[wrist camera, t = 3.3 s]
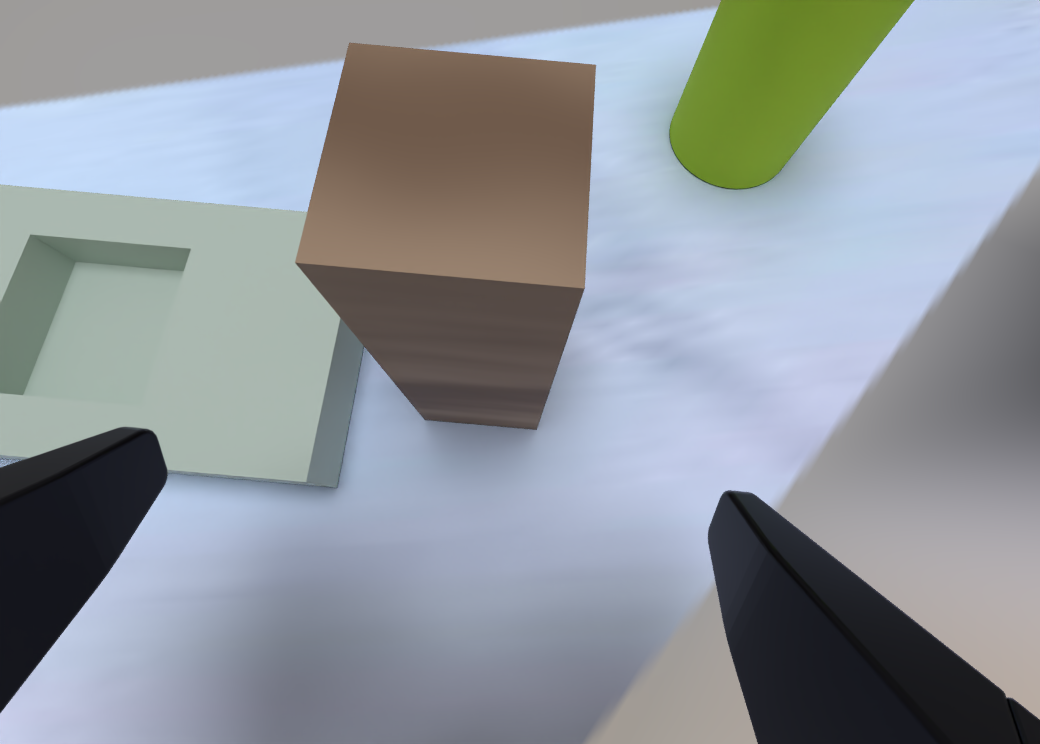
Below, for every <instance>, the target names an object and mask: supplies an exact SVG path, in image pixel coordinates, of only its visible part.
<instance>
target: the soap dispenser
mask: <svg viewBox="0 0 1040 744" xmlns="http://www.w3.org/2000/svg"><path fill="white" fill-rule="evenodd" d="M913 1H914V0H721V2H720V5H719V7H718V9H717V12H716V14H715V17H714V19H713V21H712V24H711V26H710V29H709V31H708V34H707V36H706V38H705V41H704V43H703V46H702V48H701V50H700V53H699V55H698V58H697V60H696V63H695V65H694V67H693V70H692V72H691V75H690V77H689V79H688V82H687V84H686V87H685V89H684V91H683V94H682V96H681V99H680V101H679V104H678V106H677V108H676V111H675V113H674V116H673V118H672V121H671V125H670V141H671V145H672V148H673V150H674V153H675V154H676V156H677V158H678V159H679V161H680V162H681V163H682V164H683V165H684V167H685V168H686V169H688V170H689V171H690V172H691V173H692V174H694V175H695V176H697V177H698V178H700V179H702V180H704V181H706V182H708V183H710V184H713V185H716V186H719V187H724V188H731V189H744V188H751V187H755V186H758V185H761V184H763V183H765V182H767V181H769V180H770V179H772V178H773V177H775V176H776V175H777V174H778V173H779V172H780V170H781V169H782V168H783V167H784V165H785V164H786V163H787V162H788V160H789V159H790V158H791V156H792V155H793V154H794V153H795V151H796V150H797V149H798V148H799V146H800V145H801V144H802V143H803V141H804V140H805V139H806V137H807V136H808V135H809V134H810V132H811V131H812V130H813V129H814V127H815V126H816V125H817V123H818V122H819V121H820V120H821V118H822V117H823V116H824V115H825V113H826V112H827V111H828V109H829V108H830V107H831V106H832V104H833V103H834V102H835V101H836V99H837V98H838V97H839V95H840V94H841V93H842V92H843V90H844V89H845V88H846V87H847V85H848V84H849V83H850V81H851V80H852V79H853V78H854V76H855V75H856V74H857V73H858V71H859V70H860V69H861V68H862V66H863V65H864V64H865V62H866V61H867V60H868V59H869V57H870V56H871V55H872V54H873V52H874V51H875V50H876V48H877V47H878V46H879V45H880V43H881V42H882V41H883V40H884V38H885V37H886V36H887V34H888V33H889V32H890V31H891V29H892V28H893V27H894V26H895V24H896V23H897V22H898V20H899V19H900V18H901V17H902V15H903V14H904V13H905V12H906V10H907V9H908V8H909V6H910V5H911V4H912V3H913Z"/></svg>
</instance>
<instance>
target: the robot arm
mask: <svg viewBox="0 0 1040 744" xmlns="http://www.w3.org/2000/svg"><path fill="white" fill-rule="evenodd" d="M167 475H168V470H167V466H166V463H165V460H164V457H163V453H162V450H161V447H160V444H159V441H158V438H157V435H156V434H155V433H154V432H153V431H152V430H149V429H146V428H137V427H119V428H116V429H113V430H110V431H107V432H104V433H101V434H98V435H95V436H92V437H89V438H86V439H83V440H80V441H77V442H75V443H72V444H69V445H66V446H63V447H60V448H57V449H54V450H51V451H48V452H45V453H42V454H39V455H36V456H33V457H30V458H27V459H24V460H21V461H18V462H16V463H13V464H10V465H7V466H4V467H1V468H0V713H1V712H2V710H3V709H4V708H5V707H6V705H7V704H8V703H9V701H10V700H11V699H12V698H13V696H14V695H15V694H16V692H17V691H18V690H19V688H20V687H21V686H22V685H23V683H24V682H25V681H26V679H27V678H28V677H29V676H30V674H31V673H32V672H33V670H34V669H35V668H36V666H37V665H38V664H39V663H40V661H41V660H42V659H43V657H44V656H45V655H46V654H47V652H48V651H49V650H50V648H51V647H52V646H53V644H54V643H55V642H56V641H57V639H58V638H59V637H60V635H61V634H62V633H63V632H64V630H65V629H66V628H67V626H68V625H69V624H70V622H71V621H72V620H73V619H74V617H75V616H76V615H77V613H78V612H79V611H80V610H81V608H82V607H83V606H84V604H85V603H86V602H87V601H88V599H89V598H90V597H91V595H92V594H93V593H94V591H95V590H96V589H97V588H98V586H99V585H100V583H101V582H102V581H103V579H104V578H105V577H106V575H107V574H108V573H109V571H110V570H111V568H112V567H113V565H114V564H115V562H116V561H117V559H118V558H119V556H120V555H121V553H122V551H123V550H124V548H125V547H126V545H127V544H128V542H129V540H130V539H131V537H132V536H133V534H134V533H135V531H136V529H137V528H138V526H139V525H140V523H141V522H142V520H143V518H144V517H145V515H146V514H147V512H148V511H149V509H150V507H151V506H152V504H153V503H154V501H155V500H156V498H157V496H158V495H159V493H160V492H161V490H162V489H163V487H164V485H165V483H166V480H167ZM708 544H709V549H710V554H711V560H712V565H713V570H714V576H715V581H716V586H717V591H718V597H719V602H720V607H721V613H722V618H723V623H724V628H725V633H726V637H727V641H728V644H729V648H730V652H731V655H732V659H733V662H734V665H735V669H736V672H737V676H738V679H739V682H740V686H741V689H742V692H743V696H744V699H745V702H746V706H747V709H748V712H749V715H750V719H751V722H752V725H753V729H754V732H755V736H756V739H757V742H758V744H1040V720H1039V719H1038V718H1037V717H1036V716H1034V715H1033V714H1032V713H1030V712H1029V711H1028V710H1027V709H1026V708H1024V707H1023V706H1022V705H1021V704H1019V703H1018V702H1017V701H1015V700H1014V699H1013V698H1006V696H1005V693H1004V692H1003V691H1002V690H1001V689H1000V688H999V687H997V686H996V685H995V684H994V683H992V682H991V681H990V680H988V679H987V678H986V677H985V676H984V675H982V674H981V673H980V672H979V671H977V670H976V669H975V668H973V667H972V666H971V665H970V664H968V663H967V662H966V661H965V660H963V659H962V658H961V657H960V656H958V655H957V654H956V653H954V652H953V651H952V650H951V649H949V648H948V647H946V645H944V644H943V643H942V642H941V641H939V640H938V639H937V638H935V637H934V636H933V635H932V634H930V633H929V632H928V631H927V630H925V629H924V628H923V627H922V626H920V625H919V624H918V623H916V622H915V621H914V620H913V619H911V618H910V617H909V616H908V615H906V614H905V613H904V612H903V611H901V610H900V609H899V608H898V607H896V606H895V605H894V604H892V603H891V602H890V601H889V600H887V599H886V598H885V597H884V596H882V595H881V594H880V593H878V592H877V591H876V590H875V589H873V588H872V587H871V586H870V585H868V584H867V583H866V582H864V581H863V580H862V579H861V578H860V577H858V576H857V575H856V574H855V573H853V572H852V571H851V570H849V569H848V568H847V567H846V566H844V565H843V564H842V563H841V562H839V561H838V560H837V559H835V558H834V557H833V556H831V555H830V554H829V553H828V552H827V551H825V550H824V549H823V548H822V547H820V546H819V545H817V543H815V542H814V541H813V540H811V539H810V538H809V537H808V536H806V535H805V534H804V533H803V532H801V531H800V530H799V529H798V528H796V527H795V526H793V524H791V523H790V522H789V521H787V520H786V519H785V518H783V517H782V516H781V515H780V514H779V513H777V512H776V511H775V510H774V509H772V508H771V507H770V506H768V505H767V504H766V503H765V502H763V501H762V500H761V499H760V498H758V497H757V496H756V495H754V494H752V493H749V492H741V491H732V490H728V491H725V492H724V493H723V494H722V496H721V498H720V500H719V503H718V505H717V508H716V511H715V513H714V516H713V519H712V521H711V524H710V527H709V531H708Z"/></svg>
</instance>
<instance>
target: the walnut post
mask: <svg viewBox="0 0 1040 744" xmlns="http://www.w3.org/2000/svg"><path fill="white" fill-rule="evenodd" d="M595 72H596V65H592V64H580V63H569V62H558V61H547V60H536V59H525V58H513V57H502V56H491V55H480V54H469V53H458V52H447V51H435V50H424V49H413V48H402V47H390V46H380V45H368V44H357V43H349V46H348V50H347V54H346V58H345V62H344V66H343V70H342V74H341V78H340V82H339V86H338V90H337V94H336V98H335V102H334V106H333V110H332V115H331V119H330V123H329V127H328V131H327V135H326V139H325V143H324V147H323V151H322V155H321V159H320V163H319V167H318V171H317V175H316V179H315V183H314V187H313V192H312V196H311V200H310V204H309V208H308V212H307V216H306V220H305V224H304V228H303V232H302V236H301V240H300V244H299V248H298V252H297V256H296V260H295V263H296V265H297V266H298V267H299V268H300V269H301V271H302V272H303V273H304V274H305V275H306V277H307V278H308V279H309V280H310V281H311V283H312V284H313V285H314V286H315V288H316V289H317V290H318V291H319V292H320V294H321V295H322V296H323V297H324V298H325V300H326V301H327V302H328V303H329V304H330V306H331V307H332V308H333V309H334V310H335V312H336V313H337V314H338V315H339V317H340V318H341V319H342V320H343V321H344V323H345V324H346V325H347V326H348V327H349V329H350V330H351V331H352V332H353V333H354V335H355V336H356V337H357V338H358V339H359V341H360V342H361V343H362V344H363V346H364V347H365V348H366V349H367V350H368V352H369V353H370V354H371V355H372V356H373V358H374V359H375V360H376V361H377V362H378V364H379V365H380V366H381V367H382V369H383V370H384V371H385V372H386V373H387V375H388V376H389V377H390V378H391V379H392V381H393V382H394V383H395V384H396V385H397V387H398V388H399V389H400V390H401V391H402V393H403V394H404V395H405V396H406V398H407V399H408V400H409V401H410V402H411V404H412V405H413V406H414V407H415V408H416V410H417V411H418V412H419V413H420V414H421V416H422V417H423V418H424V419H425V420H433V421H444V422H455V423H467V424H478V425H489V426H501V427H512V428H523V429H534V430H537V427H538V424H539V421H540V418H541V415H542V412H543V409H544V406H545V403H546V400H547V397H548V394H549V392H550V389H551V386H552V383H553V380H554V377H555V374H556V371H557V368H558V365H559V362H560V359H561V356H562V353H563V350H564V347H565V344H566V342H567V339H568V336H569V333H570V330H571V327H572V324H573V321H574V318H575V315H576V312H577V309H578V306H579V303H580V300H581V297H582V294H583V292H584V289H585V270H586V250H587V230H588V210H589V191H590V171H591V151H592V131H593V111H594V92H595Z"/></svg>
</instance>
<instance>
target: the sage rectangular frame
mask: <svg viewBox="0 0 1040 744" xmlns="http://www.w3.org/2000/svg"><path fill="white" fill-rule="evenodd" d="M306 216H307V212H302V211H291V210H279V209H268V208H257V207H246V206H235V205H223V204H212V203H201V202H190V201H178V200H167V199H156V198H145V197H134V196H122V195H111V194H100V193H89V192H77V191H66V190H55V189H44V188H32V187H21V186H10V185H0V458H6V459H18V460H24V459H27V458H30V457H33V456H36V455H39V454H42V453H45V452H48V451H51V450H54V449H57V448H60V447H63V446H66V445H69V444H72V443H75V442H77V441H80V440H83V439H86V438H89V437H92V436H95V435H98V434H101V433H104V432H107V431H110V430H113V429H116V428H119V427H137V428H146V429H149V430H152V431H153V432H154V433H155V434H156V435H157V438H158V441H159V444H160V447H161V450H162V453H163V457H164V460H165V463H166V466H167V470H168V473H176V474H187V475H199V476H210V477H221V478H232V479H244V480H255V481H266V482H278V483H289V484H300V485H312V486H323V487H334V488H337V485H338V480H339V475H340V469H341V464H342V459H343V454H344V448H345V443H346V438H347V433H348V427H349V422H350V417H351V411H352V406H353V401H354V396H355V390H356V385H357V380H358V375H359V369H360V364H361V359H362V354H363V348H364V346H363V344H362V343H361V342H360V341H359V339H358V338H357V337H356V336H355V335H354V333H353V332H352V331H351V330H350V329H349V327H348V326H347V325H346V324H345V323H344V321H343V320H342V319H341V318H340V317H339V315H338V314H337V313H336V312H335V310H334V309H333V308H332V307H331V306H330V304H329V303H328V302H327V301H326V300H325V298H324V297H323V296H322V295H321V294H320V292H319V291H318V290H317V289H316V288H315V286H314V285H313V284H312V283H311V281H310V280H309V279H308V278H307V277H306V275H305V274H304V273H303V272H302V271H301V269H300V268H299V267H298V266H297V265H296V263H295V260H296V256H297V252H298V248H299V244H300V240H301V236H302V232H303V228H304V224H305V220H306Z"/></svg>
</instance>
